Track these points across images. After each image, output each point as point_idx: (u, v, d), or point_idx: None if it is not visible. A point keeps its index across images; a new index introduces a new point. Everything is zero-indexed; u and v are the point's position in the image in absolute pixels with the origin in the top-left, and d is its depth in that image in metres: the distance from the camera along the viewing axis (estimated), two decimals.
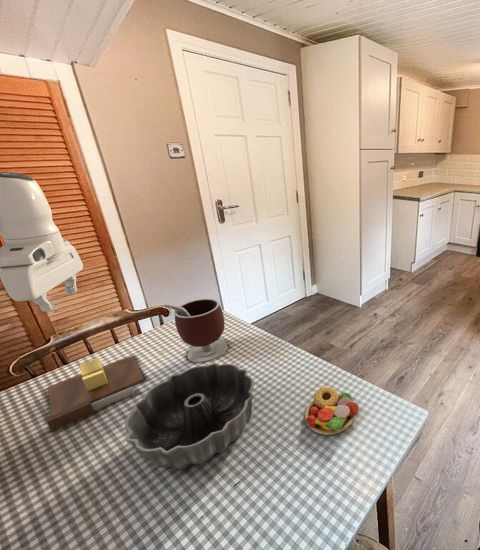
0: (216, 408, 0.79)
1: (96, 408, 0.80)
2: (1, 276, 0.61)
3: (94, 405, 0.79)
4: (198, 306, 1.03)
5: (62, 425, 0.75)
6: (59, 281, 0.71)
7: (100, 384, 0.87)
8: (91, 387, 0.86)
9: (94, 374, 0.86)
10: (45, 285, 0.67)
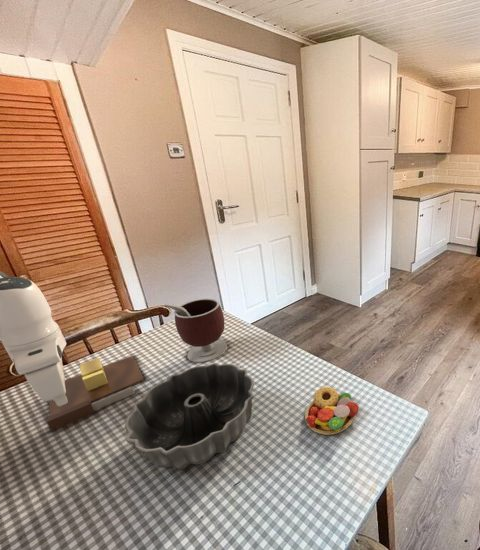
0: (216, 408, 0.79)
1: (96, 408, 0.80)
2: (31, 381, 0.62)
3: (94, 405, 0.79)
4: (198, 306, 1.03)
5: (62, 425, 0.75)
6: (63, 373, 0.72)
7: (100, 384, 0.87)
8: (91, 387, 0.86)
9: (94, 374, 0.86)
10: (63, 379, 0.69)
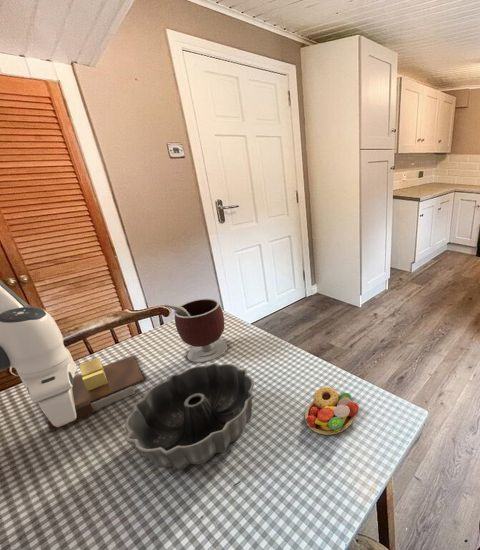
0: (216, 408, 0.79)
1: (96, 408, 0.80)
2: (44, 409, 0.65)
3: (94, 405, 0.79)
4: (198, 306, 1.03)
5: (62, 425, 0.75)
6: (73, 397, 0.75)
7: (100, 384, 0.87)
8: (91, 387, 0.86)
9: (94, 374, 0.86)
10: (73, 404, 0.72)
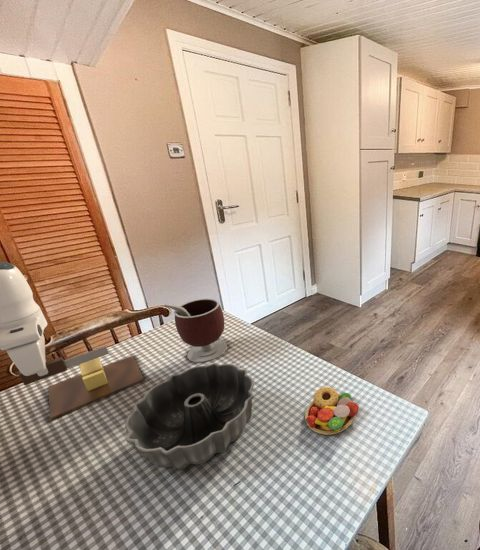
0: (216, 408, 0.79)
1: (69, 365, 0.82)
2: (12, 356, 0.68)
3: (66, 362, 0.82)
4: (198, 306, 1.03)
5: (34, 379, 0.77)
6: (44, 352, 0.77)
7: (100, 384, 0.87)
8: (91, 387, 0.86)
9: (94, 374, 0.86)
10: (43, 357, 0.74)
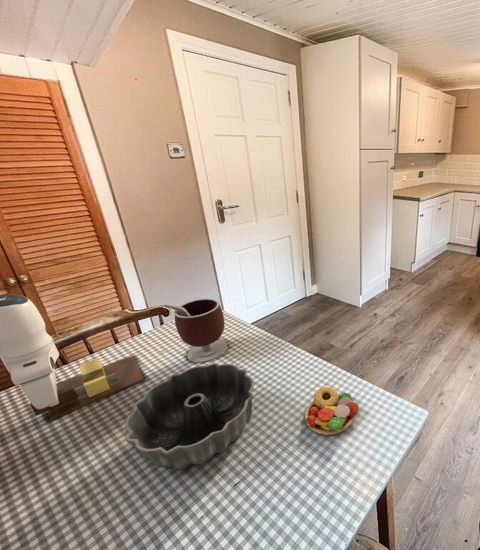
0: (216, 408, 0.79)
1: (79, 393, 0.82)
2: (26, 391, 0.68)
3: (77, 390, 0.82)
4: (198, 306, 1.03)
5: (45, 409, 0.78)
6: None
7: (102, 390, 0.85)
8: (93, 393, 0.83)
9: (96, 380, 0.84)
10: (55, 388, 0.74)
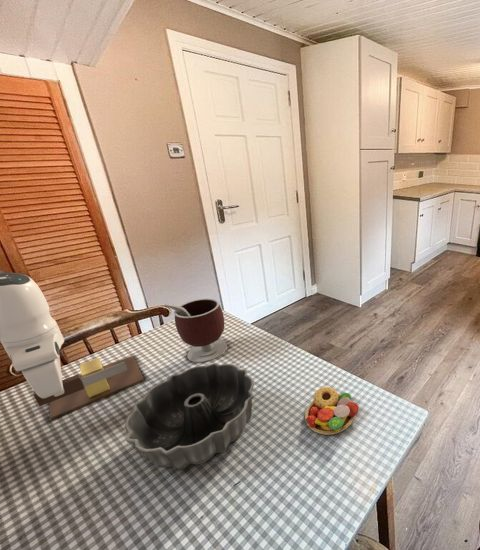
0: (216, 408, 0.79)
1: (86, 383, 0.77)
2: (28, 378, 0.62)
3: (83, 379, 0.76)
4: (198, 306, 1.03)
5: (50, 399, 0.72)
6: None
7: (102, 390, 0.85)
8: (93, 393, 0.83)
9: None
10: (60, 376, 0.69)
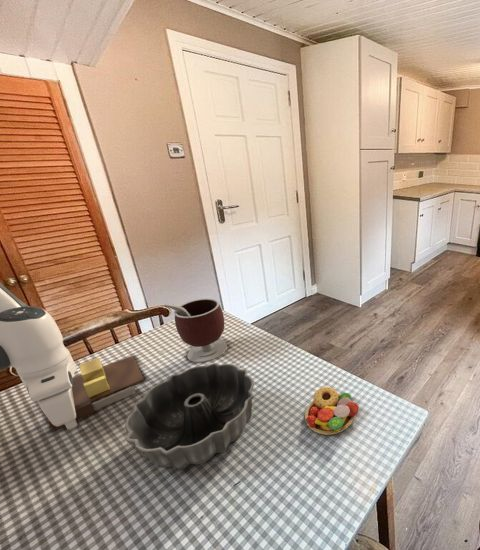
0: (216, 408, 0.79)
1: (97, 408, 0.80)
2: (44, 408, 0.65)
3: (95, 405, 0.79)
4: (198, 306, 1.03)
5: (63, 425, 0.75)
6: None
7: (102, 390, 0.85)
8: (93, 393, 0.83)
9: (96, 380, 0.84)
10: (73, 403, 0.72)
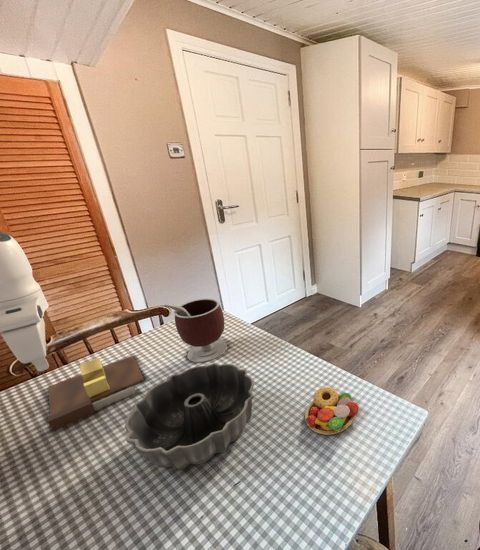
0: (216, 408, 0.79)
1: (97, 408, 0.80)
2: (8, 340, 0.59)
3: (95, 405, 0.79)
4: (198, 306, 1.03)
5: (63, 425, 0.75)
6: None
7: (102, 390, 0.85)
8: (93, 393, 0.83)
9: (96, 380, 0.84)
10: (43, 342, 0.65)
